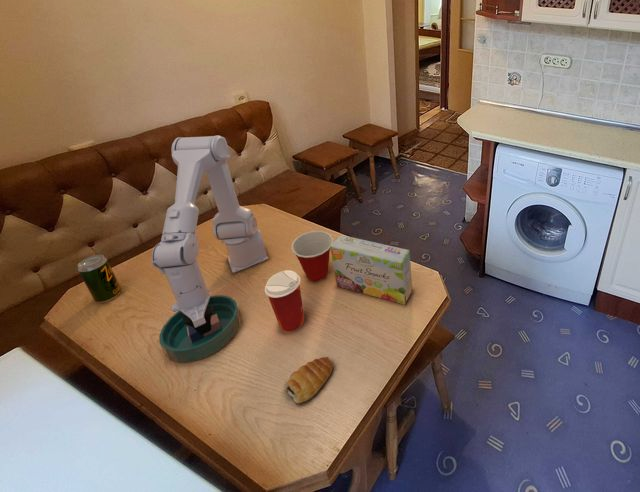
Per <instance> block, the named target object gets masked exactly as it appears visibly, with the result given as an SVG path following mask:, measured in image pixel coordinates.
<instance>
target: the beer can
mask: <svg viewBox="0 0 640 492" xmlns="http://www.w3.org/2000/svg"><path fill="white" fill-rule="evenodd" d="M77 271H78V274H79V275H80V277H81V279H82V281H83V282H84V284H85V286H86V288H87V290H88V291H89V293H90V295H91V297H92V299H93V301H94V302H96V303H98V304H105V303H108V302H111V301H113V300H114V299H116V298H117V297H119V296H120V295H121V292H122V287H121V284H120V283H119V280H118V279H117V277H116V275H115V272H114V270H113V268H112V266H111V264H110V262H109V260H108V258H107V257H105V255H103V254H95V255H91V256H88V257H86V258H84V259H82V260H81V261H80V262H79V263H77Z"/></svg>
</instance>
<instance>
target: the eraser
mask: <svg viewBox="0 0 640 492" xmlns="http://www.w3.org/2000/svg"><path fill="white" fill-rule="evenodd" d="M220 329H221V326H220V322H219V319H218V316H217V314H215V315H213V316H211V331H209V332H207V333H205V334H203V335H200V334H199V333H198V332H197V331H196V330H195V329H194V328H193V327H191V326H188V327H187V331H188V337H189V339H190V341H191V343H193V342H195V341H197V340H200V339H202V338H204V337H205V336H207V335H209V334H211V333H213V332H215V331H218V330H220Z"/></svg>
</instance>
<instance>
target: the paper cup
mask: <svg viewBox="0 0 640 492" xmlns="http://www.w3.org/2000/svg"><path fill="white" fill-rule="evenodd" d="M264 293H265V295H266V296H267V297H268V300H269V302H270V305H271V307H272V311H273V313H274V316H275V318H276V321H277V324H278V326H279V329H280V330H281V331H282V332H284V333H291V332H294V331H296V330H298V329H300V328H301V327H302V325H303V324H304V323H305V322H304V321H305V312H304V304H303V298H302V290H301V277H300V274H299V275H298V273H297V272H295V271H294V270H289V269H287V270H285V269H284V270H282V271H279V272H276V273H275V274H273V275H272V276H271V277H269V279H268V280H267V282H266V284H265V286H264Z"/></svg>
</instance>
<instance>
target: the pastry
mask: <svg viewBox="0 0 640 492" xmlns="http://www.w3.org/2000/svg"><path fill="white" fill-rule="evenodd" d="M333 369H334V364H333V362H332V361H331V359H330V357H329V356H325V357H323V356H322V357H319V358H314V359H313V360H312V361H308V362H307V363H306V364H304V365H301V366H300V367H299V368H298V370H296V371H295V370H294V371H293V372H292V373H291V374H290V376H289V378H288V379H287V380H286V382H285V383H284V388H285V389H286V390H287V394H288V395H289V396H290V397H292V398H293V401H294V402H295V404H302V403H304V402H307V401H309V400H311V399H312V398H313V397H314V396H315V395H316V394H317V393H319V391H320V389H321V388H322V387H323V386H324V384H325V383H326V382H327V380H328V379H329V377H330V376H331V374H332V371H333Z"/></svg>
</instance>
